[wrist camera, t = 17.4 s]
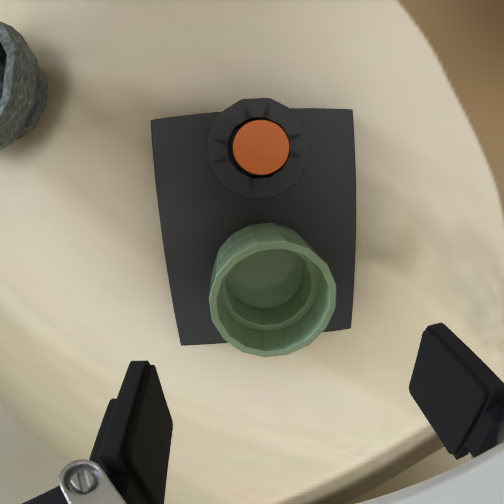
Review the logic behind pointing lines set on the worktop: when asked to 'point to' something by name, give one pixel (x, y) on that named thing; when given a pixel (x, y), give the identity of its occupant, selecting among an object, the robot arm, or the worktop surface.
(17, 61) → the mortar and pestle
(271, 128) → the button
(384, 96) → the worktop surface
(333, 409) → the worktop surface
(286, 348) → the bowl
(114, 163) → the worktop surface
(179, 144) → the scale
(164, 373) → the worktop surface
